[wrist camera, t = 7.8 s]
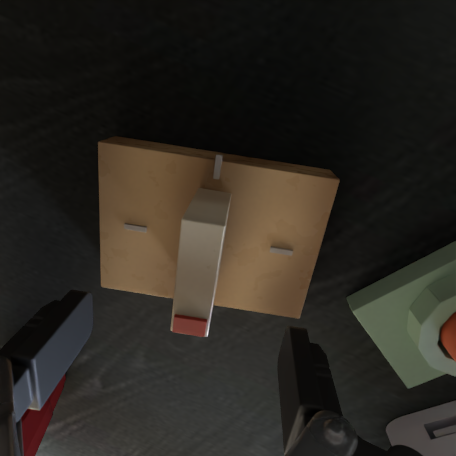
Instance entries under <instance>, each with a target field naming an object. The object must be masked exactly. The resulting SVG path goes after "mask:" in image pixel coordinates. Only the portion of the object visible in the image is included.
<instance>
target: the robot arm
mask: <svg viewBox="0 0 456 456" xmlns="http://www.w3.org/2000/svg"><path fill="white" fill-rule="evenodd" d="M92 328H93V300H92V294H91V293H89V292H83V291H77V290H71V291H69V292H68V293H67V294H66V295H65V296H64V298H63V299H62V300H61V301H57V300H54V301H53V302H51V303H49V304H47V305H45V306H43V307H42V308H41V309H40V310H39V311H38V312H37V313H36V314H35V315H34V316H33V318H31V319H30V320H29V321H28V322H27V323H26V324H25V326H23V327H22V328H21V329H20V330H19V331H18V332H17V333H16V334H15V335H14V336H13V337H12V338H11V339H10V340H9V341H8V342H7V343H6V344H5V345H4V346H3V347H2V348H1V349H0V456H24V450H23V436H22V422H21V417H22V416H23V414H24V413H25V411H26V410H27V409H33V410H39V411H40V410H41V408H42V407H43V405H44V404H45V402H46V401H47V399H48V398H49V396H50V395H51V393H52V392H53V390H54V389H55V387H56V386H57V384H58V383H59V381H60V380H61V379H62V377H63V376H64V374H65V373H66V371H67V370H68V368H69V367H70V365H71V364H72V362H73V361H74V359H75V358H76V356H77V355H78V353H79V352H80V350H81V349H82V347H83V346H84V344H85V343H86V341H87V340H88V338H89V337H90V334H91V332H92ZM278 381H279V393H280V406H281V418H282V430H283V442H284V454H286V455H285V456H423V455H422V454H420V453H419V452H418V451H416V450H414V449H413V448H410V447H408V446H405V445H394V446H392V447H390V449H389V450H388V452H387V451H385V450H383V449H381V448H379V447H377V446H375V445H373V444H371V443H369V442H367V441H365V440H363V439H362V438H360V437H359V436H358V435H356V432H355V430H354V428H353V427H352V425H351V424H350V423H349V422H348V421H347V420H346V419H345V418H344V417H343V415H342V412H341V408H340V404H339V401H338V397H337V393H336V389H335V386H334V382H333V378H332V375H331V371H330V369H329V364H328V360H327V356H326V354H325V353H324V351H323V350H322V349H321V347H320V346H319V345H318V344H314V343H310V342H309V338H308V333H307V330H306V329H304V328H298V327H292V326H287V327H286V330H285V334H284V338H283V341H282V345H281V349H280V352H279V357H278Z"/></svg>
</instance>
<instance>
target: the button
mask: <svg viewBox="0 0 456 456" xmlns="http://www.w3.org/2000/svg"><path fill="white" fill-rule="evenodd" d="M440 338H441V342H442V344H443V346H444V347H445V349H446V350H447V351H448V353H449V354H450V355H451V357H452V358H453V359H454V361H455V362H456V312H455V313H453V314H452V315H451V316H450V317H449V318H448V320H447V321H446V322H445V323H444V324H443V326H442V328H441V332H440Z"/></svg>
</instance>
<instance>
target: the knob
mask: <svg viewBox="0 0 456 456" xmlns="http://www.w3.org/2000/svg"><path fill="white" fill-rule="evenodd" d="M231 195H232V194H231V193H227V192H221V191H215V190H209V189H203V188H198V190H197V192H196V194H195V195H194V197H193V199H192V201H191V203H190V205H189V206H188V208H187V210H186V212H185V214H184V216H183V217H182V219H181V228H180V238H179V249H178V259H177V269H176V279H175V289H174V300H173V310H172V320H171V331H172V332H177V333H183V334H189V335H195V336H201V337H207V336H208V332H209V326H210V321H211V315H212V310H213V304H214V299H215V293H216V287H217V282H218V275H219V269H220V263H221V257H222V251H223V244H224V238H225V232H226V226H227V219H228V213H229V207H230V201H231Z"/></svg>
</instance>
